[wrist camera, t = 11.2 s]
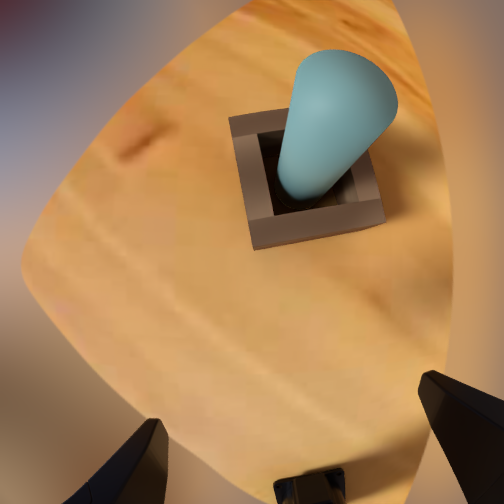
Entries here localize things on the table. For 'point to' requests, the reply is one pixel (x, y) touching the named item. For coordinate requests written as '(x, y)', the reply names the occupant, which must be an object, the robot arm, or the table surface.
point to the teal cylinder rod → (330, 123)
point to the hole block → (303, 222)
